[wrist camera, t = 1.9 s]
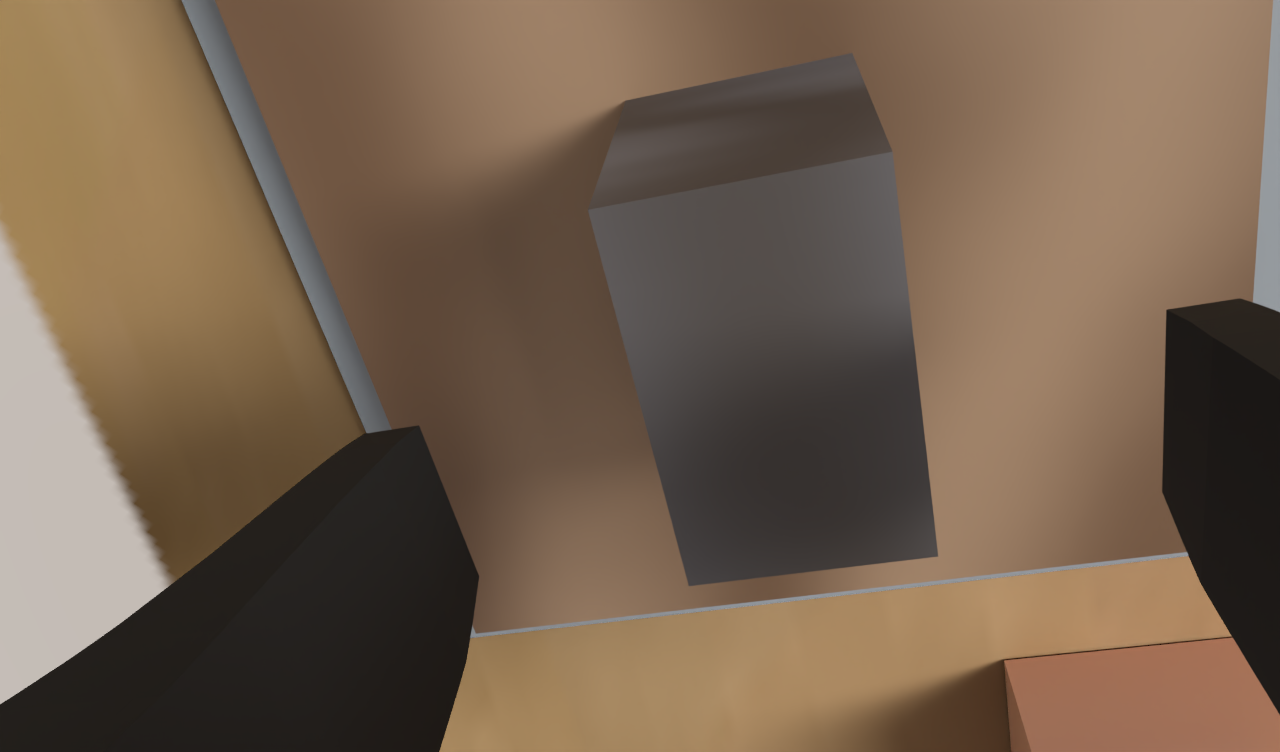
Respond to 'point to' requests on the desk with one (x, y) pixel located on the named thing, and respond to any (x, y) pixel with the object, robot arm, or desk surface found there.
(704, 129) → the walnut lid
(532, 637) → the desk surface
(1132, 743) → the pink open box
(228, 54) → the rubber mat
